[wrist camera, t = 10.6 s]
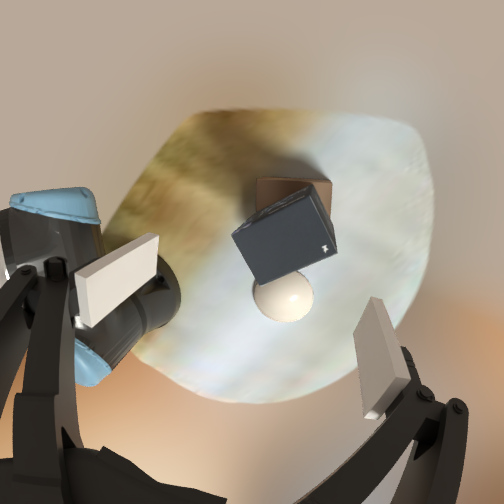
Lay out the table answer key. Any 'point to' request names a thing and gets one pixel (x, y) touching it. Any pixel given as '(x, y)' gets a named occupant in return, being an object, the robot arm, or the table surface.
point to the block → (289, 190)
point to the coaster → (285, 298)
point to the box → (286, 236)
